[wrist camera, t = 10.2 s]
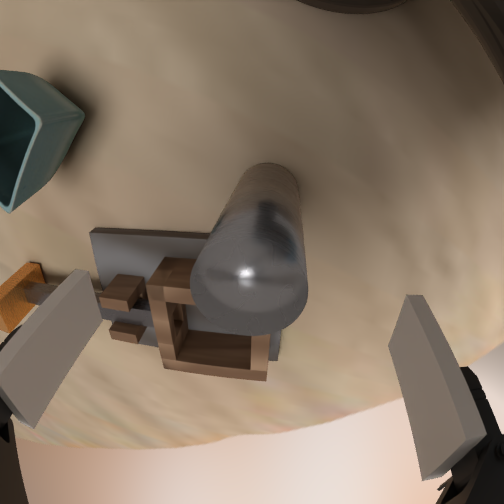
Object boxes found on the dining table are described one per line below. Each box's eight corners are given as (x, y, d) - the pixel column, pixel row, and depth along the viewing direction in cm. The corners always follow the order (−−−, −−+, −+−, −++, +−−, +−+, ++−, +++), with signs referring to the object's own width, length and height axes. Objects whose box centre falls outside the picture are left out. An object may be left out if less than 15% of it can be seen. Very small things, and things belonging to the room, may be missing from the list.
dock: (95, 227, 29) (63, 254, 24) (289, 238, 27) (288, 274, 22) (121, 333, 35) (101, 366, 30) (277, 353, 34) (275, 394, 29)
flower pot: (20, 136, 25) (-42, 158, 17) (53, 63, 21) (-15, 67, 13) (69, 182, 27) (9, 217, 19) (110, 107, 23) (43, 120, 15)
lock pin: (27, 262, 32) (-16, 300, 24) (171, 279, 30) (138, 339, 22) (35, 289, 34) (-2, 328, 26) (175, 311, 32) (148, 372, 24)
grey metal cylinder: (237, 161, 24) (185, 233, 12) (300, 164, 24) (315, 242, 12) (237, 219, 27) (194, 330, 14) (296, 223, 26) (300, 339, 14)
